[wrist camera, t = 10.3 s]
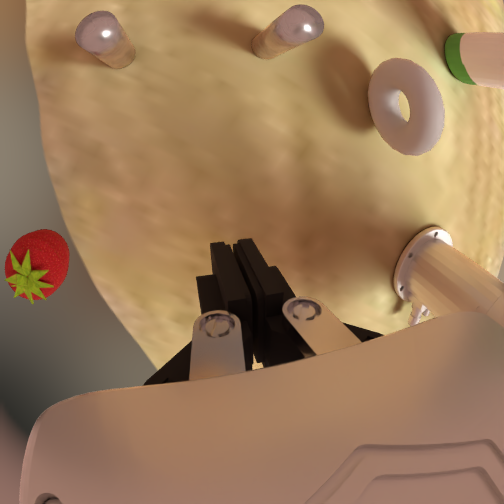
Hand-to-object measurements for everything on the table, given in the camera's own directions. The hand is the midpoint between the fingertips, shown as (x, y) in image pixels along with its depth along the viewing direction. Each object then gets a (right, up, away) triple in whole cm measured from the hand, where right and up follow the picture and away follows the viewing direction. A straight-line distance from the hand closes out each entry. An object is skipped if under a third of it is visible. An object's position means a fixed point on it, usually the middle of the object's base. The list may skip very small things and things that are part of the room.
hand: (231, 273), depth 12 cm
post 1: (-11, +18, +7) cm, 23 cm away
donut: (+14, +17, +15) cm, 27 cm away
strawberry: (-20, +2, +13) cm, 24 cm away
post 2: (+2, +20, +10) cm, 22 cm away
